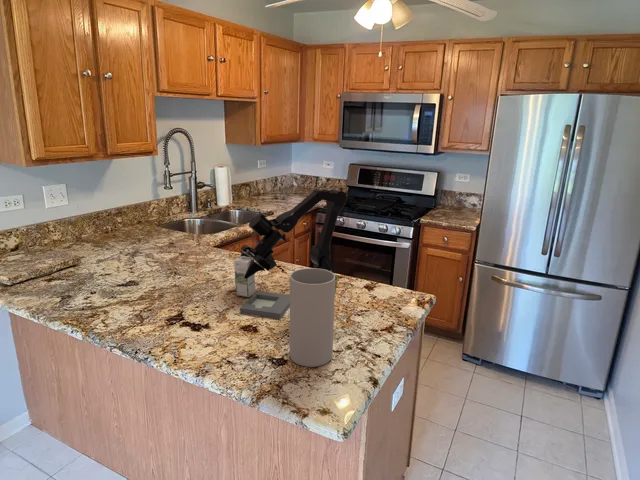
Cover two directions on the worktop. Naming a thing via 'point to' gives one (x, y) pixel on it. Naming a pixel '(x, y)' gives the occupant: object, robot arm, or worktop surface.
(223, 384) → the worktop surface
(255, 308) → the pocket plate
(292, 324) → the cylinder vase
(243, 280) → the syrup box
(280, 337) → the worktop surface
